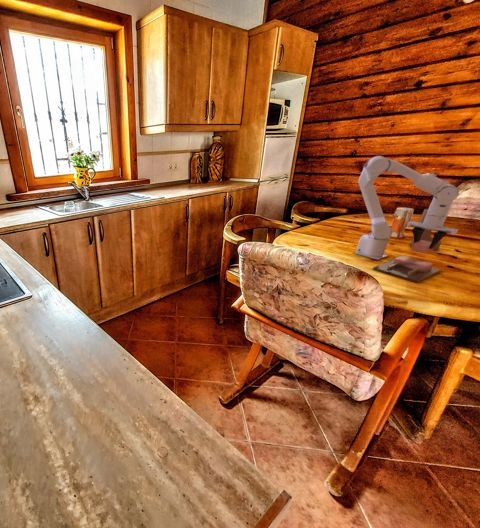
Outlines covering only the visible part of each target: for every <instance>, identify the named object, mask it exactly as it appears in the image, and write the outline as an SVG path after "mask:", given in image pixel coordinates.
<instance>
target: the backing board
mask: <svg viewBox="0 0 480 528" xmlns="http://www.w3.org/2000/svg"><path fill="white" fill-rule="evenodd" d="M433 266H434V263H433V262H429V261H425V260H421V259H417V258H414V257H410V256H407V255H400V256H397V257H395V258H394V259H392V260H389V261H387V262H384V263H381V264H379V265H377V266H374V267H373V271H377V272H379V273H383V274H386V275H390V276H393V277H396V278H399V279H403V280H406V281H409V282H413V283H415V284H417V283H420V282H422V281H424V280H427V279H428V278H430V277H432V276H434V275H437V274H439V273H440V272H441V269H439V268H435V267H433Z"/></svg>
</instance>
